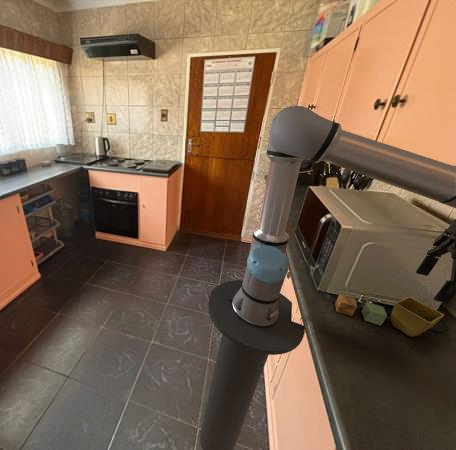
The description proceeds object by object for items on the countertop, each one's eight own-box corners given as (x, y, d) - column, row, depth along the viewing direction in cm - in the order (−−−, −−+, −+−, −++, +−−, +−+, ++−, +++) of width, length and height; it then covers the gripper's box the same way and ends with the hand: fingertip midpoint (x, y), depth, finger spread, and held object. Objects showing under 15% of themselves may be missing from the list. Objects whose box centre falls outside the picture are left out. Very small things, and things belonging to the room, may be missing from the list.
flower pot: (396, 315, 86) (409, 295, 81) (429, 335, 78) (445, 314, 74) (382, 323, 82) (394, 303, 78) (415, 344, 75) (430, 323, 71)
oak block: (336, 311, 86) (341, 302, 84) (335, 303, 90) (339, 293, 88) (351, 316, 84) (357, 306, 82) (349, 307, 88) (354, 298, 86)
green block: (364, 320, 83) (370, 310, 81) (361, 311, 87) (367, 302, 85) (381, 325, 81) (387, 316, 79) (377, 316, 85) (383, 306, 83)
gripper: (534, 250, 52) (470, 321, 62) (469, 209, 72) (429, 268, 82) (484, 240, 55) (431, 309, 65) (435, 204, 75) (400, 261, 85)
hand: (430, 286), depth 73 cm, fingers open, 13 cm apart
